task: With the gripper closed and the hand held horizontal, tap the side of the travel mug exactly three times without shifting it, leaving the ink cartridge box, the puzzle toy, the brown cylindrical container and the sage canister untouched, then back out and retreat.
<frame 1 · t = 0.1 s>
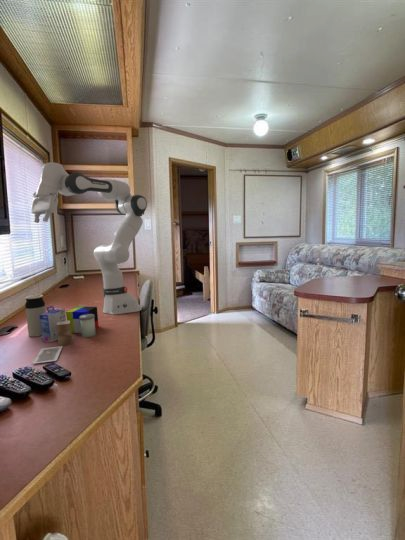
hand: (40, 222, 148), 52 cm above the table, tool tilted 20°, fingers open, 8 cm apart
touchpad: (49, 357, 118), on the table
puzzle toy: (83, 329, 150), on the table
sage canister: (88, 335, 141), on the table
ink cartridge box: (55, 338, 138), on the table
brown cylindrical container: (65, 343, 131), on the table
travel mug: (38, 334, 145), on the table
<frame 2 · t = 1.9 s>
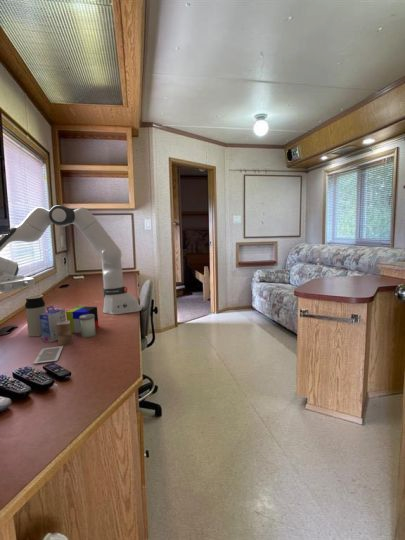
hand: (19, 285, 149), 22 cm above the table, tool horizontal, fingers open, 5 cm apart
nothing on the table moved.
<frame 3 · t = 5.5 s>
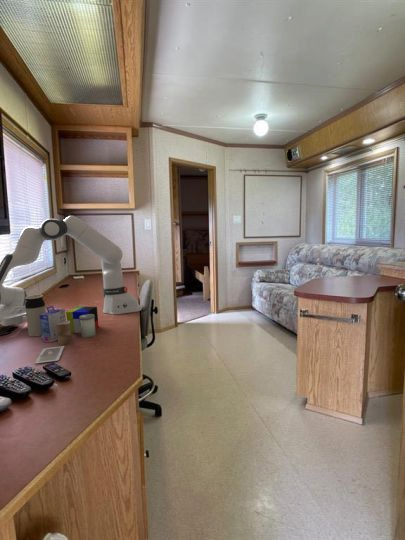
hand: (32, 318, 147), 7 cm above the table, tool horizontal, fingers closed
travel mug: (38, 334, 145), on the table, touching gripper
everything else where it was.
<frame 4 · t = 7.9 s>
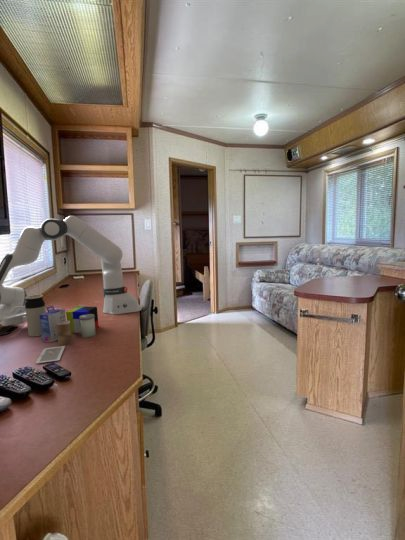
hand: (32, 318, 147), 7 cm above the table, tool horizontal, fingers closed
nothing on the table moved.
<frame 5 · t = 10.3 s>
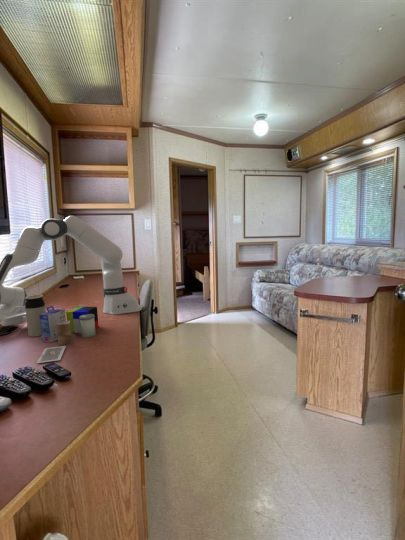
hand: (32, 318, 147), 7 cm above the table, tool horizontal, fingers closed
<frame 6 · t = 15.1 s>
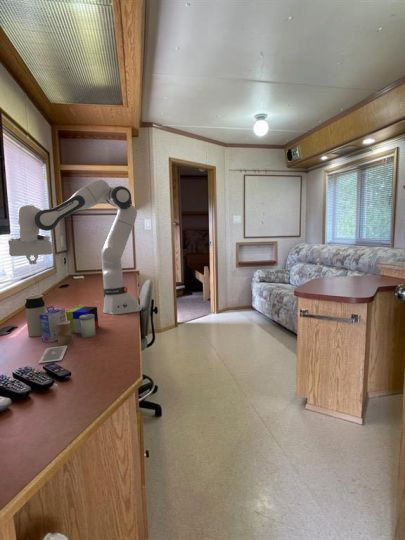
hand: (33, 264, 161), 31 cm above the table, tool pointing down, fingers closed
travel mug: (38, 334, 145), on the table
at the end: travel mug moved 0.2 cm from its start; travel mug tilted 0°; travel mug touching table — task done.
